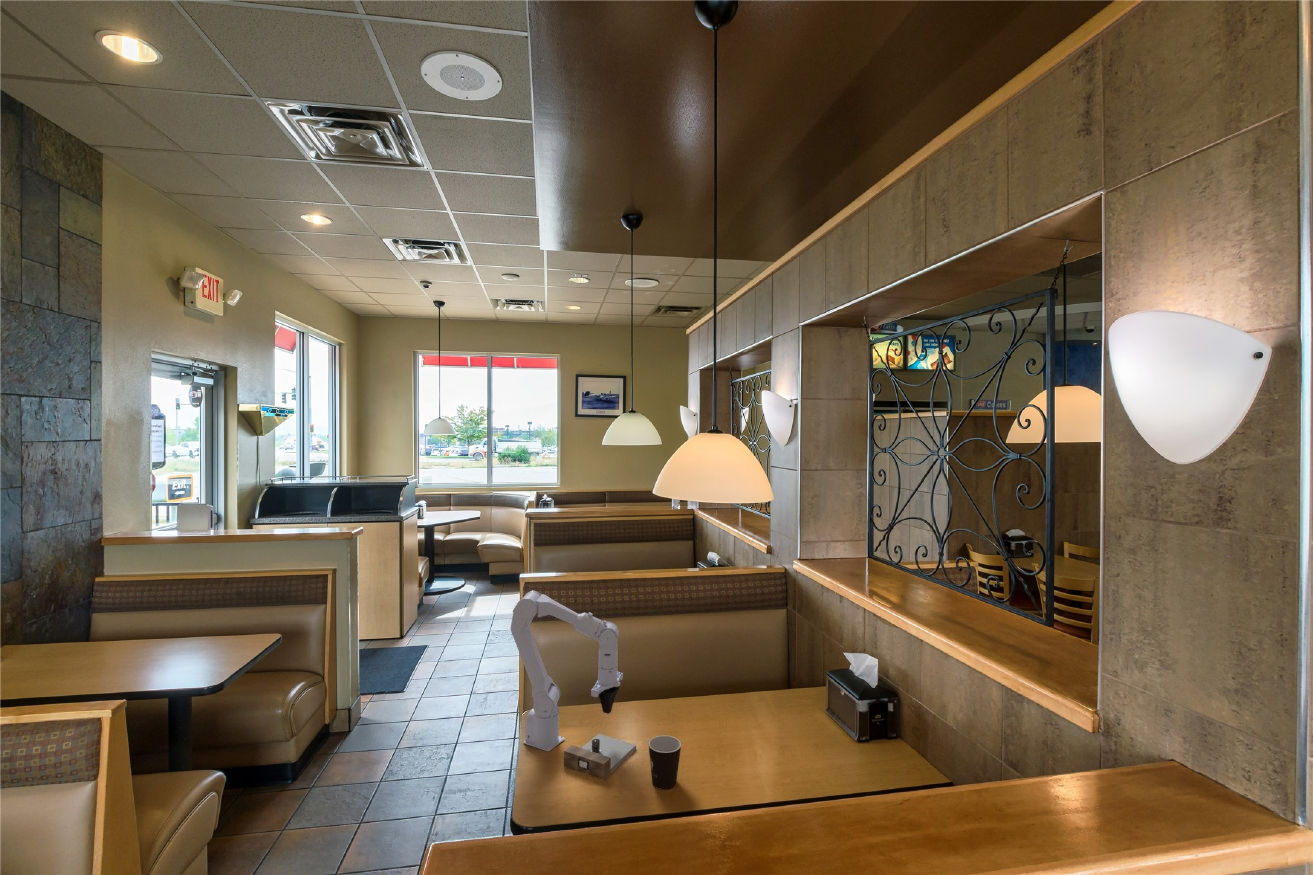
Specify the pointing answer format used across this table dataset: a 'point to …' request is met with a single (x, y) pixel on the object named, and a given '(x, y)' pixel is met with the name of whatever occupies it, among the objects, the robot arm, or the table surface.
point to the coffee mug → (664, 761)
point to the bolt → (594, 749)
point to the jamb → (597, 762)
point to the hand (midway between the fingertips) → (606, 712)
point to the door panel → (612, 749)
